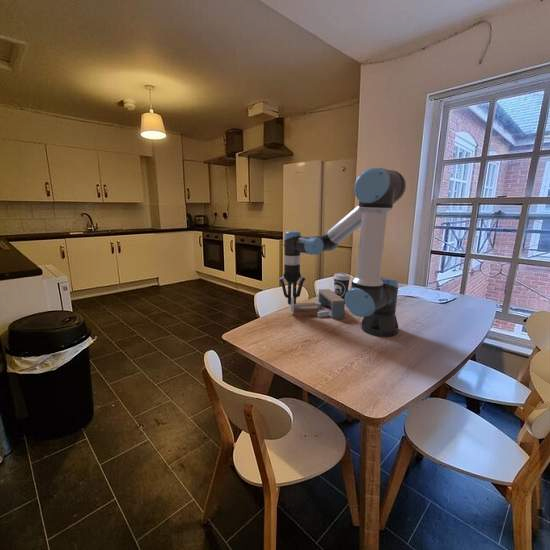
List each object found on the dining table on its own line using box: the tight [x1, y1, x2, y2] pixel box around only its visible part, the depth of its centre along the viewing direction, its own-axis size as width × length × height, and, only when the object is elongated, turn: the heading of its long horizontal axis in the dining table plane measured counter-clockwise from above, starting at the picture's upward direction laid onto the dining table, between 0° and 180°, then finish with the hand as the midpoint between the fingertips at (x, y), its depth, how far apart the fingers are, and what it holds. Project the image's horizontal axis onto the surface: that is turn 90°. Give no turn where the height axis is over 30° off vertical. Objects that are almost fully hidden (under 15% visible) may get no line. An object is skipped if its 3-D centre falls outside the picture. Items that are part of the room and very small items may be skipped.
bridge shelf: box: [315, 288, 346, 319], centre depth 148 cm, size 20×12×9 cm, turn 11°
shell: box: [292, 302, 320, 317], centre depth 147 cm, size 9×12×4 cm
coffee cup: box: [333, 272, 352, 300], centre depth 165 cm, size 10×10×15 cm
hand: (291, 310), depth 145 cm, fingers closed
